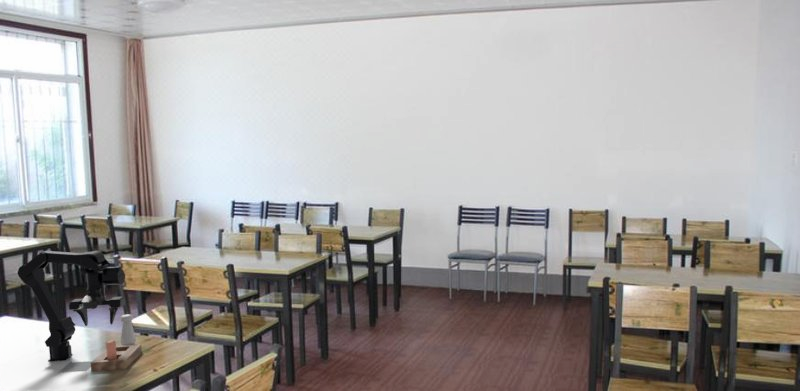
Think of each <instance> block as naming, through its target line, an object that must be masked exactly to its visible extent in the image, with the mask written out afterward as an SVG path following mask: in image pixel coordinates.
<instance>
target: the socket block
mask: <svg viewBox="0 0 800 391" xmlns="http://www.w3.org/2000/svg"><path fill="white" fill-rule="evenodd" d="M142 350H143V349H142V343H140V344H139V343H138V344H136V343H135V345H122V344H120V345H116V352H117V359H113V360H107V349H105V350H103V351H102V352H101V353H100V354H98V355H97V356H96V357H95V358H94V359H93V360H91V361H92V362H91V367H90V372H104V371H105V372H106V371H120V370H123V371H124V370H127V369H128V368H129V366H131V365H132V363H134V361H135V360H136V359H137V358H139V357H140V355H141V354H142V353H143V351H142Z"/></svg>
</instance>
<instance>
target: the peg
mask: <svg viewBox="0 0 800 391" xmlns="http://www.w3.org/2000/svg"><path fill="white" fill-rule="evenodd" d="M116 342H117V341H116V340H109V341H106V342H105V347H106V349H107V360H113V359H117V352H116V346H117V343H116ZM106 349H105V350H106Z"/></svg>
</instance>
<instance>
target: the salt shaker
mask: <svg viewBox="0 0 800 391" xmlns="http://www.w3.org/2000/svg"><path fill="white" fill-rule="evenodd" d="M132 321H133V315H132V314H128V313H127V314H123V315H121V316H120V322H122V327H121V332H120V341H119V342H120V345H136V342H137V338H136V335H135V330H134V327H133V323H132Z"/></svg>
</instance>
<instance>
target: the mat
mask: <svg viewBox="0 0 800 391" xmlns="http://www.w3.org/2000/svg"><path fill="white" fill-rule="evenodd" d="M92 361H93V360H91V361H89V360H88V361H76V362H75V361H74V362H69V363H67V364H66V365H65V366H64V367H63V368H61V369H59V371H58V372H57V373H72V372H76V373H77V372H87V371H88V370H89V369H91V362H92Z"/></svg>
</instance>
